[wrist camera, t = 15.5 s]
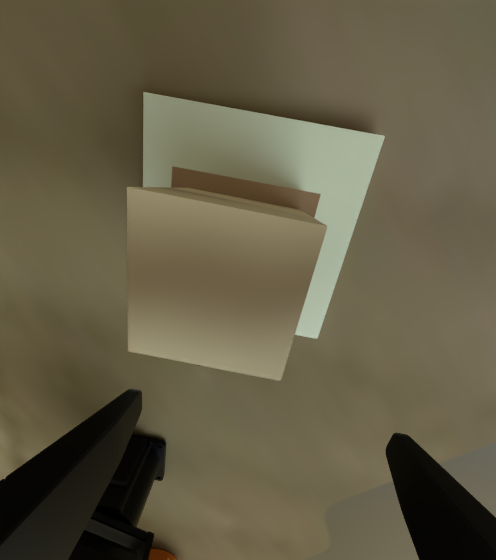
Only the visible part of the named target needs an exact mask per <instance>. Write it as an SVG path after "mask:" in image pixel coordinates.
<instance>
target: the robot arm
mask: <svg viewBox="0 0 496 560" xmlns="http://www.w3.org/2000/svg"><path fill="white" fill-rule="evenodd" d="M141 410H142V392H141V391H140V390H136V389H129V390H127V391H125V392H124V393H123V394H121V395H120V396H118V397H117V398H116V399H114V400H113V401H111V402H110V403H109V404H107V405H106V406H104V407H103V408H102V409H100V410H99V411H97V412H96V413H95V414H93V415H92V416H90V417H89V418H88V419H86V420H85V421H83V422H82V423H81V424H79V425H78V426H76V427H75V428H74V429H72V430H71V431H69V432H68V433H67V434H65V435H64V436H62V437H61V438H60V439H58V440H57V441H55V442H54V443H53V444H51V445H50V446H48V447H47V448H46V449H44V450H43V451H41V452H40V453H39V454H37V455H36V456H34V457H33V458H32V459H30V460H29V461H27V462H26V463H25V464H23V465H22V466H20V467H19V468H18V469H16V470H15V471H13V472H12V473H11V474H9V475H8V476H7V477H6V478H5V479H2V480H1V481H0V560H148V559H149V555H150V550H151V546H152V542H153V537H154V533H152V532H150V531H149V532H146V531H144V530H141V529H139V528H137V524H138V521H139V519H140V516H141V514H142V511H143V508H144V506H145V503H146V501H147V498H148V495H149V493H150V490H151V487H152V485H153V482H154V480H158V481H161V480H163V477H164V470H165V455H166V442H165V441H163V440H158V439H153V438H148V437H142V436H137V435H132V433H133V430H134V428H135V426H136V423H137V421H138V419H139V416H140V414H141ZM386 457H387V461H388V464H389V468H390V472H391V475H392V479H393V482H394V486H395V490H396V493H397V497H398V500H399V503H400V507H401V510H402V513H403V516H404V519H405V522H406V524H407V527H408V530H409V533H410V535H411V538H412V541H413V544H414V546H415V549H416V552H417V555H418V557H419V560H496V518H495V517H494V516H493V515H492V514H491V513H490V512H489V511H488V510H487V509H486V508H485V507H484V506H483V505H482V504H481V503H480V502H479V501H477V500H476V499H475V498H474V497H473V496H472V495H471V494H470V493H469V492H468V491H467V490H466V489H465V488H464V487H463V486H461V484H459V483H458V482H457V481H456V480H455V479H454V478H453V477H452V476H451V475H450V474H449V473H448V472H447V471H446V470H445V469H444V468H442V467H441V466H440V465H439V464H438V463H437V462H436V461H435V460H434V459H433V458H432V457H431V456H430V455H429V454H428V453H427V452H426V451H424V450H423V449H422V448H421V447H420V446H419V445H418V444H417V443H416V442H415V441H414V440H413V439H412V438H411V437H409V436H408V435H406V434H401V433H394V434H393V435H392V437H391V439H390V441H389V443H388V445H387V447H386Z"/></svg>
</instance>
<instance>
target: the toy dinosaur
mask: <svg viewBox="0 0 496 560" xmlns="http://www.w3.org/2000/svg"><path fill="white" fill-rule="evenodd" d="M148 560H177V559H176V557H175V556H174V555H172V554H171V553H169V552H167V551H164V550H160V549H151V550H150V555H149V559H148Z"/></svg>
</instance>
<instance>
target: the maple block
mask: <svg viewBox="0 0 496 560" xmlns="http://www.w3.org/2000/svg"><path fill="white" fill-rule="evenodd" d="M327 227H328V226H327V225H325V224H323V223H321V222H320V221H318V220H316V219H315V218H313V217H311V216H310V215H308V214H306V213H305V212H303V211H301V210H299V209H294V208H289V207H283V206H278V205H273V204H268V203H263V202H258V201H253V200H248V199H243V198H238V197H233V196H228V195H222V194H217V193H212V192H207V191H202V190H197V189H192V188H170V187H127V264H128V351H130V352H135V353H140V354H145V355H150V356H155V357H160V358H165V359H171V360H176V361H181V362H186V363H191V364H196V365H201V366H206V367H212V368H217V369H222V370H227V371H232V372H237V373H242V374H247V375H252V376H258V377H263V378H268V379H273V380H278V381H281V378H282V375H283V372H284V368H285V365H286V362H287V358H288V355H289V352H290V349H291V345H292V342H293V339H294V335H295V332H296V329H297V326H298V322H299V319H300V316H301V312H302V309H303V306H304V303H305V299H306V296H307V293H308V289H309V286H310V283H311V280H312V276H313V273H314V270H315V266H316V263H317V260H318V257H319V253H320V250H321V247H322V243H323V240H324V237H325V234H326V230H327Z"/></svg>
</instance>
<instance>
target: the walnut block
mask: <svg viewBox="0 0 496 560" xmlns="http://www.w3.org/2000/svg"><path fill="white" fill-rule="evenodd" d="M171 188H192V189H197V190H202V191H207V192H212V193H217V194H222V195H228V196H233V197H238V198H243V199H248V200H253V201H258V202H263V203H268V204H273V205H278V206H283V207H289V208H294V209H299V210H301V211H303V212H305V213H306V214H308V215H310V216H311V217H313V218H314V217H315V214H316V210H317V206H318V203H319V199H320V195H321V194H318V193H313V192H307V191H302V190H297V189H291V188H286V187H281V186H275V185H270V184H265V183H259V182H254V181H249V180H243V179H238V178H233V177H227V176H222V175H217V174H211V173H206V172H201V171H195V170H190V169H185V168H179V167H174V166H172V181H171Z"/></svg>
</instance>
